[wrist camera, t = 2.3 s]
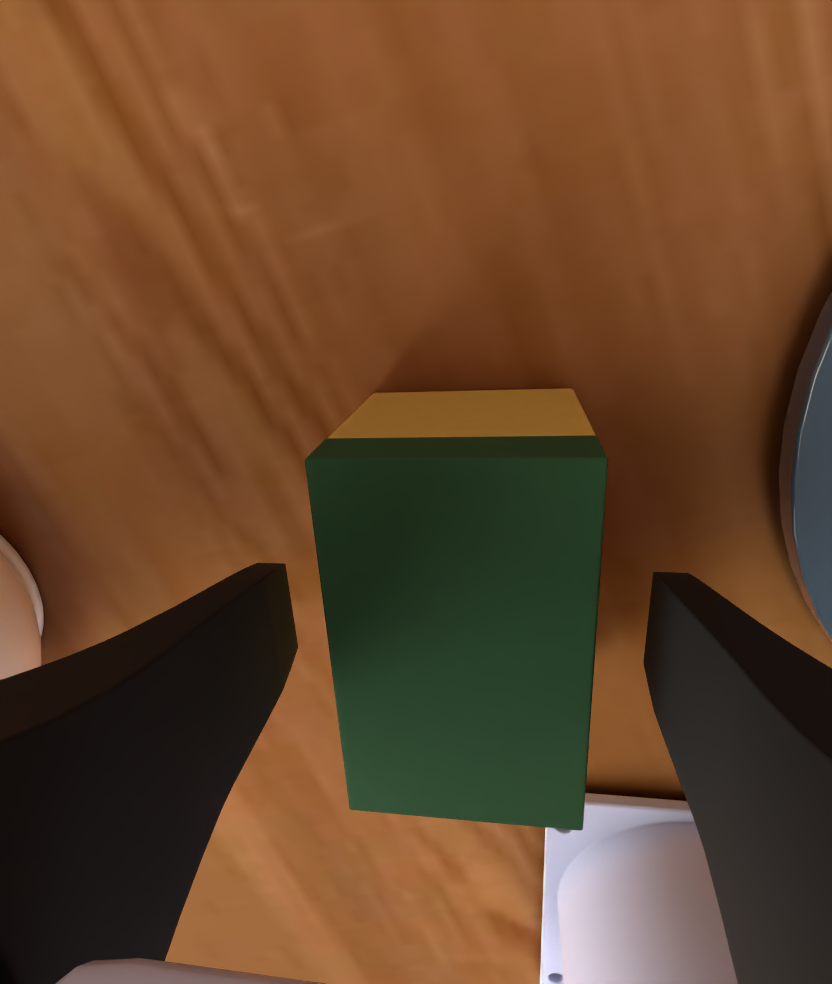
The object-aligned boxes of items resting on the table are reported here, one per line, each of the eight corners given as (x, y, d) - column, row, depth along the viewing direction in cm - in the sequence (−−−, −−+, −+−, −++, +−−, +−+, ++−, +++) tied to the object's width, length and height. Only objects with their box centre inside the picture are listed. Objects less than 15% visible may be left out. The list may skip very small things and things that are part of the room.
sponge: (561, 665, 16) (583, 832, 11) (393, 656, 16) (349, 810, 12) (574, 387, 13) (608, 457, 8) (372, 392, 14) (303, 458, 9)
